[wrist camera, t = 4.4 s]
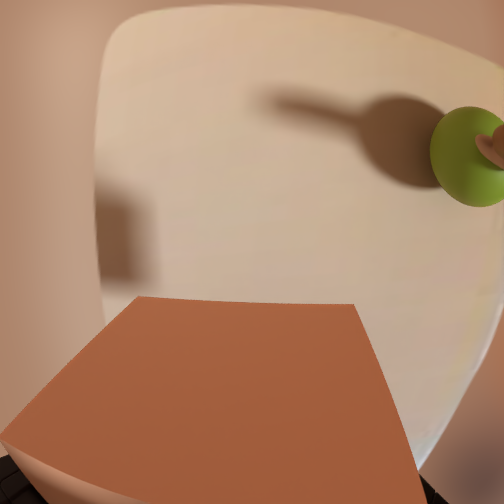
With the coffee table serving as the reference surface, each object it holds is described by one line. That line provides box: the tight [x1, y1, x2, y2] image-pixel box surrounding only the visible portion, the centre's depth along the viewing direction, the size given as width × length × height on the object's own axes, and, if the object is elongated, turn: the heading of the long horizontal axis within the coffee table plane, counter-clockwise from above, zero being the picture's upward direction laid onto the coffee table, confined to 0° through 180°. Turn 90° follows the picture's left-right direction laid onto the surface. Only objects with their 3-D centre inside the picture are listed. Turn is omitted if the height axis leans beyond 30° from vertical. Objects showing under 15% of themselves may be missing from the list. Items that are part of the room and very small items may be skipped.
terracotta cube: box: [0, 296, 427, 504], centre depth 6 cm, size 6×6×6 cm
